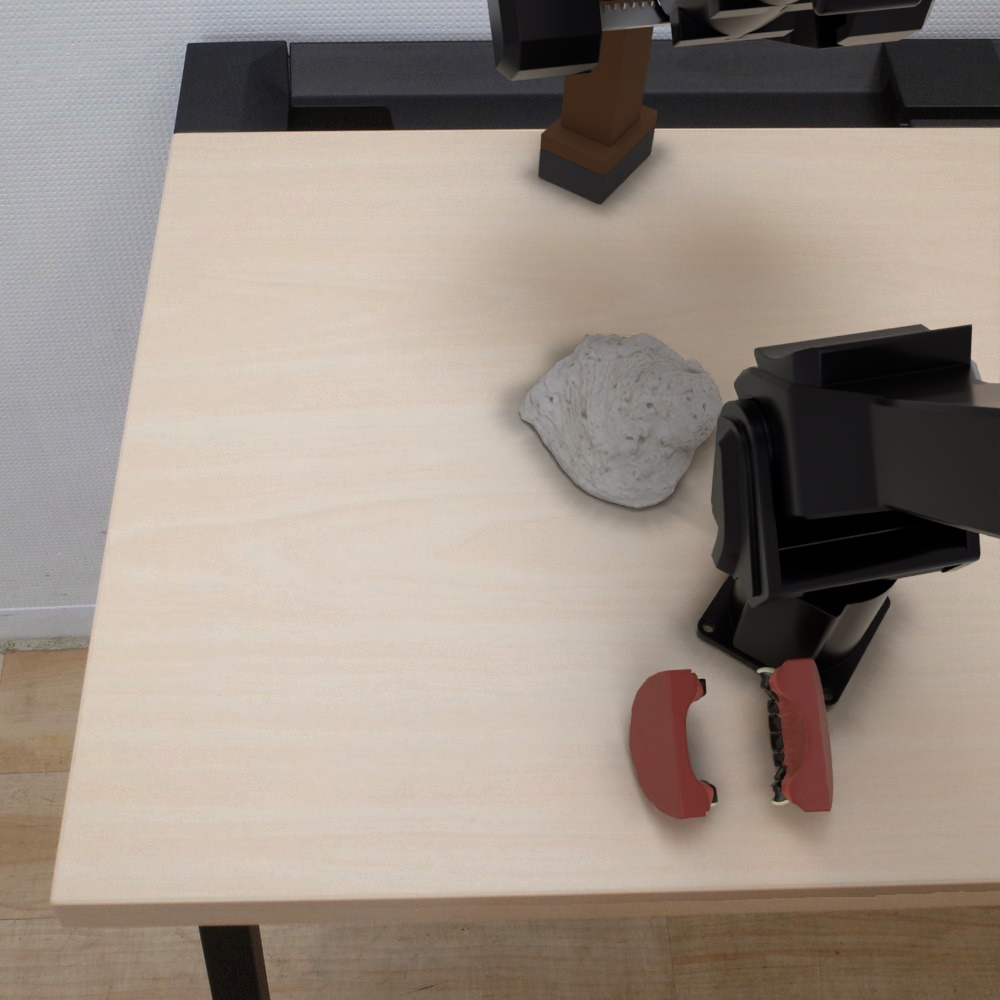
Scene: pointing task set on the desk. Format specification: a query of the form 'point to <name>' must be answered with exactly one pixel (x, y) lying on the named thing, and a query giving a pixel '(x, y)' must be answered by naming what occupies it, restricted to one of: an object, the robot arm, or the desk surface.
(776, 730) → the false teeth
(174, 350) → the desk surface
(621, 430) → the stone
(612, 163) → the stamp
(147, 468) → the desk surface
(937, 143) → the desk surface
